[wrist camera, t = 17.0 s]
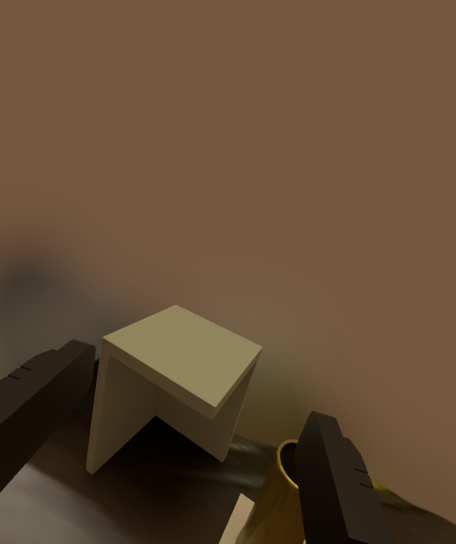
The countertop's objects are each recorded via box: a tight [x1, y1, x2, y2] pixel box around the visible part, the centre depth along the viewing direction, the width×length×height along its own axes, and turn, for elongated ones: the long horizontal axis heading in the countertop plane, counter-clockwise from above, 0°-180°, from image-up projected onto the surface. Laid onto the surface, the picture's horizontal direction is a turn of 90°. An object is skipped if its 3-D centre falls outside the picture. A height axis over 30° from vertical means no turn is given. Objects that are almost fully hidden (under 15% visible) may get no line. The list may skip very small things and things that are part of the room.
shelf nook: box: [86, 305, 262, 475], centre depth 34 cm, size 14×13×20 cm
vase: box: [235, 439, 305, 544], centre depth 27 cm, size 6×6×14 cm
